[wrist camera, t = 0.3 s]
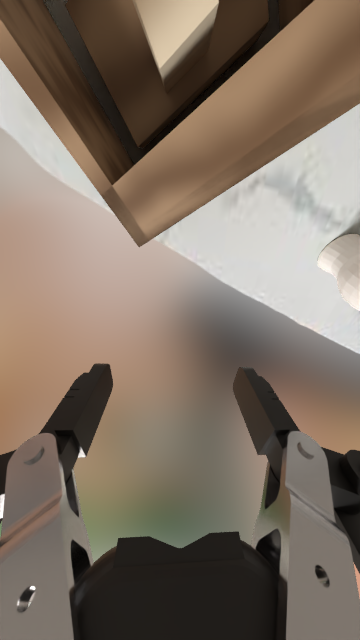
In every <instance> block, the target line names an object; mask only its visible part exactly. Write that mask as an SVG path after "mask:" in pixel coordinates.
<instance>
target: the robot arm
mask: <svg viewBox="0 0 360 640" xmlns="http://www.w3.org/2000/svg"><path fill="white" fill-rule="evenodd" d="M112 387H113V379H112V375H111V369H110V365H109V364H94V365H93V367H92V369H91V370H90V372H89V373H83V374H82V375H81V376H80V377H78V379H76V380H75V381H74V383H73V384H72V386H71V387H70V390H69V391H68V392H67V393H66V395H65V397H64V398H63V399H62V401H61V402H60V404H59V405H58V407H57V408H56V410H55V411H54V413H53V414H52V416H51V417H50V419H49V420H48V422H47V423H46V425H45V426H44V428H43V429H42V430H41V432H40V433H39V434H38V435H36V436H34V437H32V438H30V439H28V440H27V441H26V442H24V443H23V444H22V445H21V446H20V447H19V448H18V449H17V450H14V451H11V452H9V453H6V454H2V455H0V523H1V521H2V531H1V538H0V640H360V599H359V593H358V588H357V582H356V576H355V570H354V564H355V565H356V568H357V569H358V571H359V573H360V451H357V450H350V451H348V452H347V453H346V454H345V455H343V454H340V453H337V452H334V451H331V450H329V449H326V448H323V447H320V446H319V444H318V443H317V442H316V441H315V440H314V439H312V438H311V437H310V436H308V435H307V434H304V433H303V432H301V431H300V430H299V429H298V427H297V426H296V424H295V423H294V421H293V420H292V418H291V417H290V415H289V413H288V412H287V410H286V409H285V407H284V406H283V404H282V403H281V401H280V400H279V398H278V397H277V395H276V393H274V391H273V389H272V387H271V386H270V384H269V383H268V382H267V381H266V380H265V379H264V378H263V377H261V376H258V375H257V373H256V372H255V370H254V369H253V368H250V367H239V369H238V371H237V374H236V377H235V380H234V383H233V391H234V394H235V397H236V399H237V402H238V405H239V407H240V410H241V413H242V415H243V417H244V420H245V423H246V425H247V428H248V431H249V433H250V436H251V438H252V441H253V444H254V446H255V449H256V451H257V454H258V455H266V456H267V458H268V463H267V468H266V476H265V482H264V489H263V495H262V502H261V508H260V512H259V515H258V517H257V520H256V523H255V526H254V531H253V537H252V543H251V545H249V544H247V543H246V542H244V541H242V540H240V536H239V532H223V533H222V532H221V533H209V534H208V535H206V536H204V537H202V538H200V539H198V540H197V541H195V542H193V543H191V544H189V545H187V546H185V547H184V548H176V547H173V546H171V545H168V544H166V543H164V542H161V541H159V540H156V539H154V538H152V537H130V538H118V543H117V546H116V547H114V548H112V549H111V550H109V551H107V552H106V553H105V554H103V555H102V556H101V557H100V558H99V559H98V560H97V561H95V562H94V563H93V559H92V553H91V548H90V544H89V539H88V534H87V530H86V527H85V524H84V521H83V518H82V513H81V508H80V503H79V497H78V491H77V486H76V480H75V475H74V469H73V467H74V464H75V462H76V460H77V458H78V457H86V456H87V453H88V450H89V448H90V445H91V443H92V440H93V437H94V435H95V433H96V430H97V428H98V425H99V422H100V420H101V417H102V415H103V412H104V410H105V407H106V404H107V402H108V399H109V397H110V394H111V391H112ZM353 562H354V564H353ZM29 602H31V604H30V606H29V607H28V603H29Z"/></svg>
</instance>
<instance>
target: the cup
mask: <svg viewBox="0 0 360 640" xmlns="http://www.w3.org/2000/svg"><path fill="white" fill-rule="evenodd" d="M317 263H318V266H319V267H320V268H321V269H323V270H324V271H327V272H329V273H331V274H333V275H334V276H335V278H336V279H337V285H338V289H339V291H340V293H341V296H342V298H343V299H344V300H345V301H346V302H348V303H349V304H350V305H351V306H352V307H353V308H355V309H357V310H359V311H360V235H358V234H347V235H344V236H341V237H339V238H337V239H335V240H334V241H332V242H331V243H330V244H328V245H327V246H326V247H325V248H324V249H323V251H322V252H321V254H320V255H319V258H318V262H317Z"/></svg>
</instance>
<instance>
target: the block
mask: <svg viewBox="0 0 360 640" xmlns="http://www.w3.org/2000/svg"><path fill="white" fill-rule="evenodd" d="M133 3H134V6H135V8H136V11H137V14H138V17H139V19H140V22H141V25H142V28H143V30H144V33H145V36H146V39H147V41H148V44H149V47H150V50H151V52H152V55H153V58H154V61H155V63H156V66H157V69H158V72H159V74H160V77H161V80H162V83H163V85H164V88H165V91H166V93H167V92H168V91H169V90H170V89H171V88H172V87H173V86H174V85H175V84H176V83H177V82H178V81H179V80H180V79H181V78H182V77H183V76H184V75H185V74H186V73H187V72H188V71H189V70H190V69H191V68H192V66H193V65H194V64H195V63H196V62H197V61H198V60H199V59H200V58H201V57H202V56H203V55H204V54H205V53H206V52H207V51H208V48H209V44H210V39H211V35H212V31H213V26H214V22H215V17H216V13H217V8H218V4H219V0H133Z"/></svg>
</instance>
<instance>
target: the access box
mask: <svg viewBox="0 0 360 640" xmlns="http://www.w3.org/2000/svg"><path fill="white" fill-rule="evenodd" d="M65 6H66V8H67V10H68V12H69V14H70V16H71V18H72V20H73V22H74V24H75V26H76V28H77V30H78V31H79V33H80V35H81V37H82V39H83V41H84V43H85V45H86V47H87V49H88V51H89V53H90V55H91V57H92V59H93V61H94V63H95V65H96V67H97V69H98V71H99V72H100V74H101V76H102V78H103V80H104V82H105V84H106V86H107V88H108V90H109V92H110V94H111V96H112V98H113V100H114V102H115V104H116V106H117V108H118V110H119V112H120V113H121V115H122V117H123V119H124V121H125V123H126V125H127V127H128V129H129V131H130V133H131V135H132V137H133V139H134V141H135V143H136V145H137V147H140V148H144V147H145V146H146V145H147V144H148V143H149V142H150V141H151V140H153V139H154V138H155V137H156V136H157V135H158V134H159V133H160V132H161V131H162V130H163V129H164V128H165V127H166V126H167V125H168V124H169V123H171V122H172V121H173V120H174V119H175V118H176V117H177V116H178V115H179V114H180V113H181V112H182V111H183V110H184V109H185V108H186V107H187V106H189V105H190V104H191V103H192V102H193V101H194V100H195V99H196V98H197V97H198V96H199V95H200V94H201V93H202V92H203V91H204V90H206V89H207V88H208V87H209V86H210V85H211V84H212V83H213V82H214V81H215V80H216V79H217V78H218V77H219V76H220V75H221V74H222V73H224V72H225V71H226V70H227V69H228V68H229V67H230V66H231V65H232V64H233V63H234V62H235V61H236V60H237V59H238V58H239V57H240V56H242V55H243V54H244V53H245V52H246V51H247V50H248V49H249V48H250V47H251V46H252V45H253V44H254V43H255V42H256V41H257V39H258V37H259V36H260V34H261V33H262V31H263V29H264V28H265V26H266V25H267V23H268V21H269V12H268V0H219V4H218V8H217V13H216V17H215V22H214V26H213V31H212V35H211V39H210V44H209V48H208V51H207V52H206V53H205V54H204V55H203V56H202V57H201V58H200V59H199V60H198V61H197V62H196V63H195V64H194V65H193V66H192V68H191V69H190V70H189V71H188V72H187V73H186V74H185V75H184V76H183V77H182V78H181V79H180V80H179V81H178V82H177V83H176V84H175V85H174V86H173V87H172V88H171V89H170V90H169V91H168V92H167V93H166V91H165V88H164V85H163V83H162V80H161V77H160V74H159V72H158V69H157V66H156V63H155V61H154V58H153V55H152V52H151V50H150V47H149V44H148V41H147V39H146V36H145V33H144V30H143V28H142V25H141V22H140V19H139V17H138V14H137V11H136V8H135V6H134V3H133V0H68V1H67V3H66V5H65ZM278 6H279V24H280V32H279V33H278V34H277V35H276V36H275V37H274V38H273V39H272V40H271V41H269V42H268V43H267V44H266V45H265V46H264V47H263V48H262V49H261V50H260V51H259V52H257V53H256V54H255V55H254V56H253V57H252V58H251V59H250V60H249V61H248V62H247V63H245V64H244V65H243V66H242V67H241V68H240V69H239V70H238V71H237V72H236V73H235V74H233V75H232V76H231V77H230V78H229V79H228V80H227V81H226V82H225V83H224V84H223V85H221V86H220V87H219V88H218V89H217V90H216V91H215V92H214V93H213V94H212V95H211V96H209V97H208V98H207V99H206V100H205V101H204V102H203V103H202V104H201V105H200V106H199V107H197V108H196V109H195V110H194V111H193V112H192V113H191V114H190V115H189V116H188V117H187V118H185V119H184V120H183V121H182V122H181V123H180V124H179V125H178V126H177V127H176V128H175V129H173V130H172V131H171V132H170V133H169V134H168V135H167V136H166V137H165V138H164V139H163V140H161V141H160V142H159V143H158V144H157V145H156V146H155V147H154V148H153V149H152V150H151V151H149V152H148V153H147V154H146V155H145V156H144V157H143V158H142V159H141V160H140V161H139V162H138V163H136V164H135V165H134V164H133V162H132V161H131V159H130V157H129V155H128V153H127V151H126V150H125V148H124V146H123V144H122V142H121V141H120V139H119V137H118V135H117V133H116V132H115V130H114V128H113V126H112V124H111V123H110V121H109V119H108V117H107V115H106V114H105V112H104V110H103V108H102V106H101V105H100V103H99V101H98V99H97V97H96V96H95V94H94V92H93V90H92V88H91V87H90V85H89V83H88V81H87V79H86V78H85V76H84V74H83V72H82V70H81V69H80V67H79V65H78V63H77V61H76V59H75V58H74V56H73V54H72V52H71V50H70V49H69V47H68V45H67V43H66V41H65V40H64V38H63V36H62V34H61V32H60V31H59V29H58V27H57V25H56V23H55V22H54V20H53V18H52V16H51V14H50V13H49V11H48V9H47V7H46V5H45V4H44V2H43V0H0V58H1V60H2V61H3V62H4V64H5V65H6V67H7V68H8V69H9V71H10V72H11V73H12V75H13V76H14V77H15V79H16V80H17V82H18V83H19V84H20V86H21V87H22V88H23V90H24V91H25V92H26V94H27V95H28V97H29V98H30V99H31V101H32V102H33V103H34V105H35V106H36V107H37V109H38V110H39V112H40V113H41V114H42V116H43V117H44V118H45V120H46V121H47V122H48V124H49V125H50V127H51V128H52V129H53V131H54V132H55V133H56V135H57V136H58V137H59V139H60V140H61V142H62V143H63V144H64V146H65V147H66V148H67V150H68V151H69V152H70V154H71V155H72V157H73V158H74V159H75V161H76V162H77V163H78V165H79V166H80V167H81V169H82V170H83V172H84V173H85V174H86V176H87V177H88V178H89V180H90V181H91V182H92V184H93V185H94V187H95V188H96V189H97V191H98V192H99V193H100V195H101V196H102V197H103V199H104V200H105V201H106V203H107V204H108V206H109V207H110V208H111V210H112V211H113V212H114V214H115V215H116V216H117V218H118V219H119V221H120V222H121V223H122V225H123V226H124V227H125V229H126V230H127V231H128V233H129V234H130V235H131V237H132V238H133V239H134V241H135V242H136V244H137V245H138V246H139V247H140V246H142V245H143V244H145V243H147V242H148V241H150V240H151V239H153V238H154V237H156V236H157V235H159V234H160V233H162V232H163V231H165V230H166V229H168V228H170V227H171V226H173V225H174V224H176V223H177V222H179V221H180V220H182V219H183V218H185V217H186V216H188V215H189V214H191V213H193V212H194V211H196V210H197V209H199V208H200V207H202V206H203V205H205V204H206V203H208V202H209V201H211V200H212V199H214V198H215V197H217V196H219V195H220V194H222V193H223V192H225V191H226V190H228V189H229V188H231V187H232V186H234V185H235V184H237V183H238V182H240V181H242V180H243V179H245V178H246V177H248V176H249V175H251V174H252V173H254V172H255V171H257V170H258V169H260V168H261V167H263V166H264V165H266V164H268V163H269V162H271V161H272V160H274V159H275V158H277V157H278V156H280V155H281V154H283V153H284V152H286V151H287V150H289V149H291V148H292V147H294V146H295V145H297V144H298V143H300V142H301V141H303V140H304V139H306V138H307V137H309V136H310V135H312V134H313V133H315V132H317V131H318V130H320V129H321V128H323V127H324V126H326V125H327V124H329V123H330V122H332V121H333V120H335V119H336V118H338V117H340V116H341V115H343V114H344V113H346V112H347V111H349V110H350V109H352V108H353V107H355V106H356V105H358V104H359V103H360V0H278Z"/></svg>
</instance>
